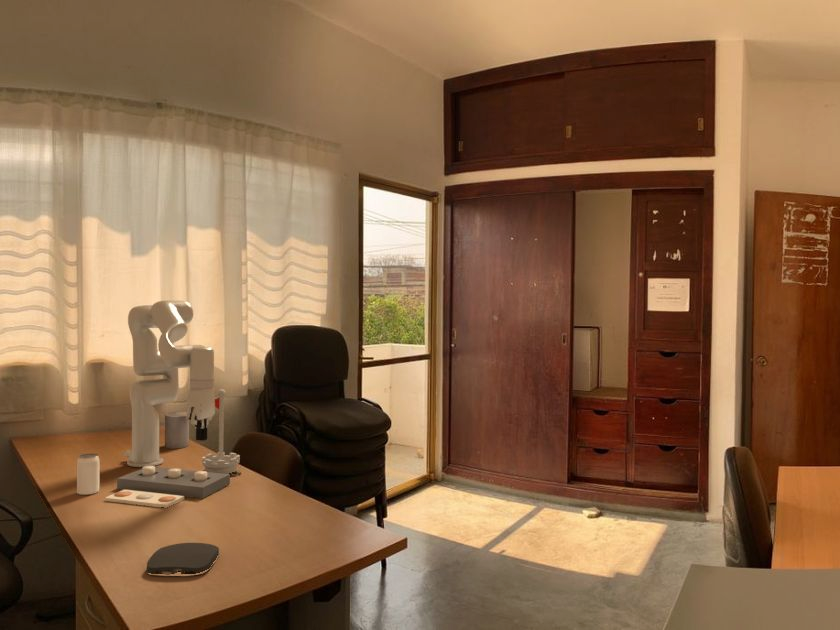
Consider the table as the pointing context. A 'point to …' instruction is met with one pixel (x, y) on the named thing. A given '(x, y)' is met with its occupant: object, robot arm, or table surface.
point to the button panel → (173, 483)
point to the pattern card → (144, 498)
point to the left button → (148, 470)
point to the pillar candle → (176, 430)
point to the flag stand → (220, 446)
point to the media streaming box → (183, 558)
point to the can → (88, 474)
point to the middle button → (174, 473)
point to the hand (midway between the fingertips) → (201, 439)
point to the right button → (200, 476)
